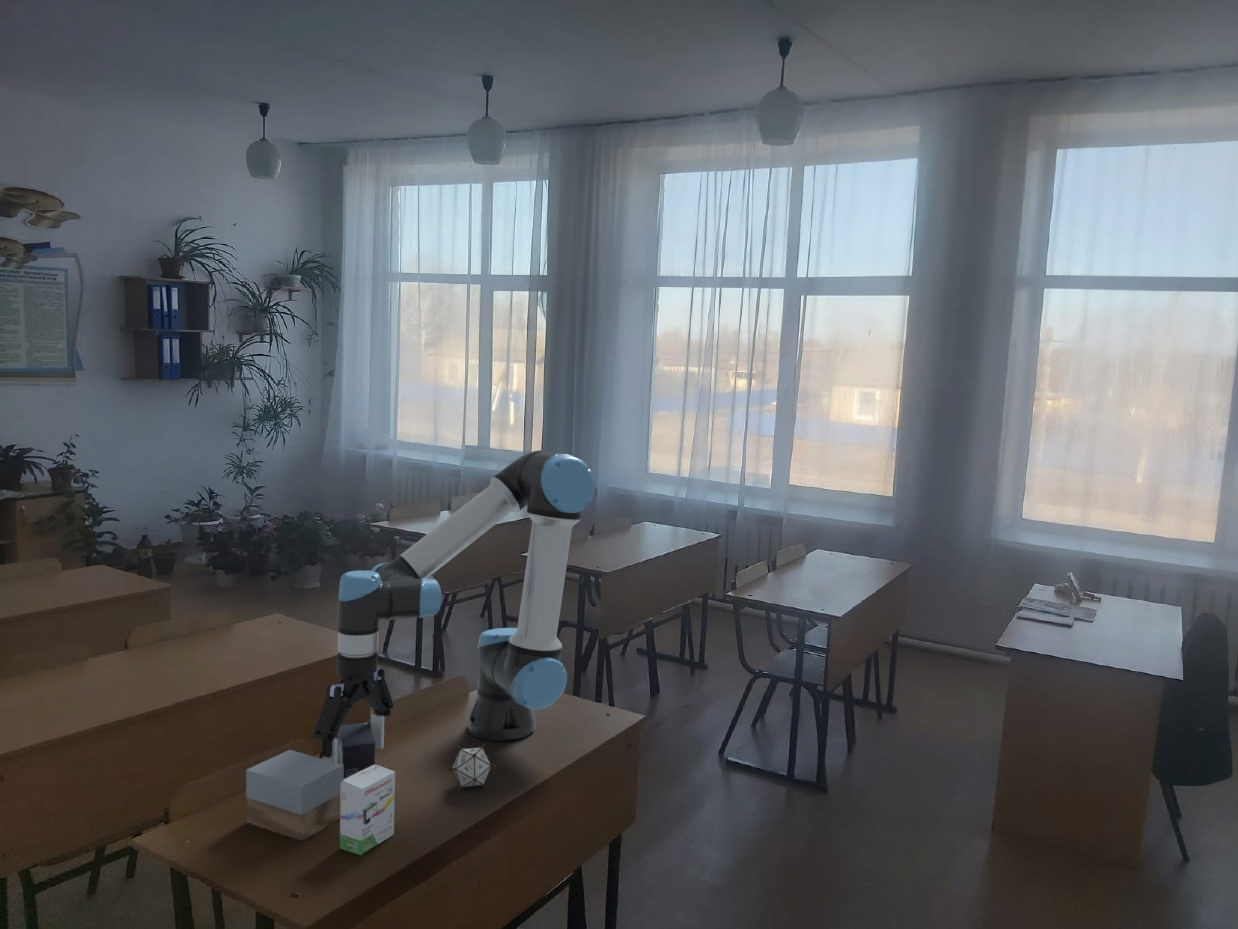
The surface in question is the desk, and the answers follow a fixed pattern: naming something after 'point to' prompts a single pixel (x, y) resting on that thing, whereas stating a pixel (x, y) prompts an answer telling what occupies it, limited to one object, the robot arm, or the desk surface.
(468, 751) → the game die
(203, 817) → the desk surface
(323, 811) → the walnut slab
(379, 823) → the ink box
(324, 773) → the grey slab
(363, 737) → the small box
